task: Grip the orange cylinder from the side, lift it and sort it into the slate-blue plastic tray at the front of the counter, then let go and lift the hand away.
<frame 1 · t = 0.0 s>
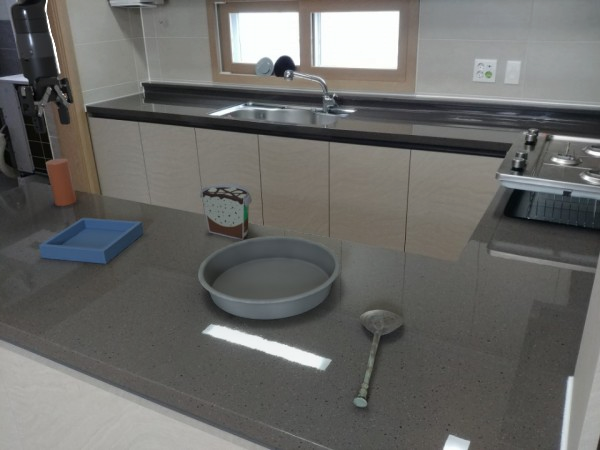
hand: (53, 128, 122), 21 cm above the worktop, tool pointing down, fingers open, 8 cm apart
food container: (234, 232, 118), on the worktop
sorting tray: (94, 245, 114), on the worktop
soupspoon: (373, 356, 76), on the worktop
cake pan: (270, 287, 95), on the worktop
orange cylinder: (65, 202, 139), on the worktop
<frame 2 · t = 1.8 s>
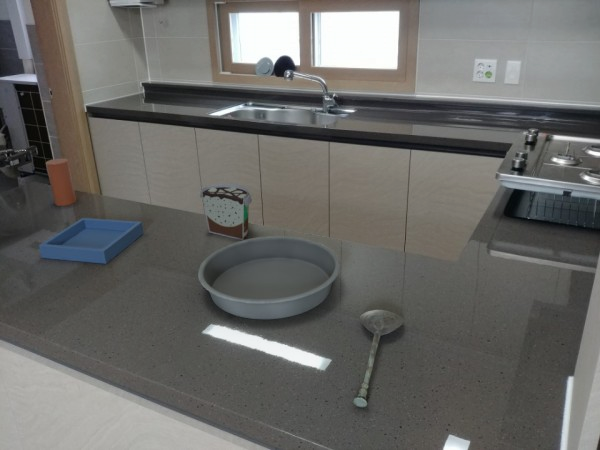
hand: (19, 149, 122), 17 cm above the worktop, tool horizontal, fingers open, 8 cm apart
nothing on the worktop moved.
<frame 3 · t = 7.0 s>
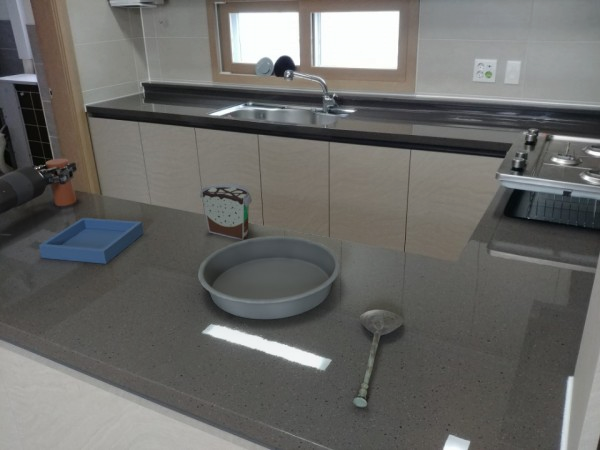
hand: (64, 165, 137), 9 cm above the worktop, tool horizontal, fingers closed on orange cylinder, 5 cm apart
orange cylinder: (65, 202, 139), on the worktop, touching gripper
everything else where it was.
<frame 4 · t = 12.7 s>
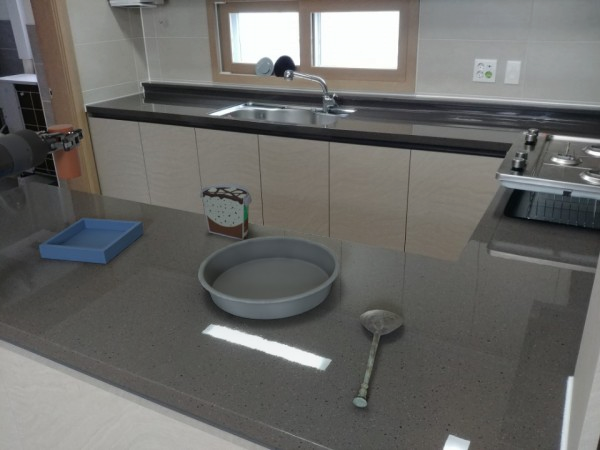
hand: (69, 132, 118), 21 cm above the worktop, tool horizontal, fingers closed on orange cylinder, 5 cm apart
orange cylinder: (70, 175, 120), point 12 cm above the worktop, touching gripper
everything else where it was.
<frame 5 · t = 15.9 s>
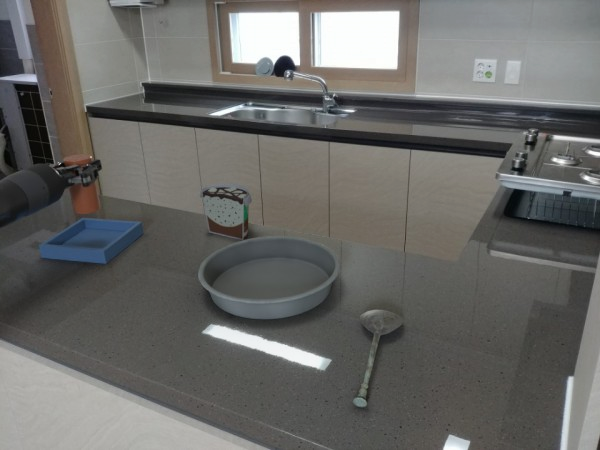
hand: (86, 163, 109), 17 cm above the worktop, tool horizontal, fingers closed on orange cylinder, 5 cm apart
orange cylinder: (87, 209, 110), point 8 cm above the worktop, touching gripper
everything else where it was.
when the fingers open (10 cm above the worktop, at t = 18.5 s): orange cylinder stays where it is, resting on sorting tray.
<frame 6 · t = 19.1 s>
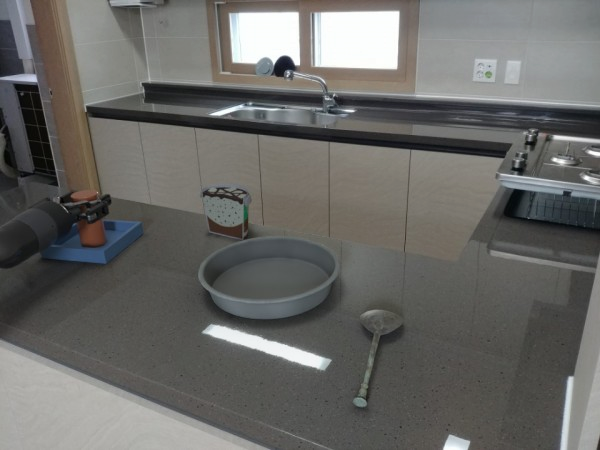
hand: (91, 197, 111), 10 cm above the worktop, tool horizontal, fingers open, 8 cm apart
orange cylinder: (94, 242, 113), point 1 cm above the worktop, touching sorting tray
everything else where it was.
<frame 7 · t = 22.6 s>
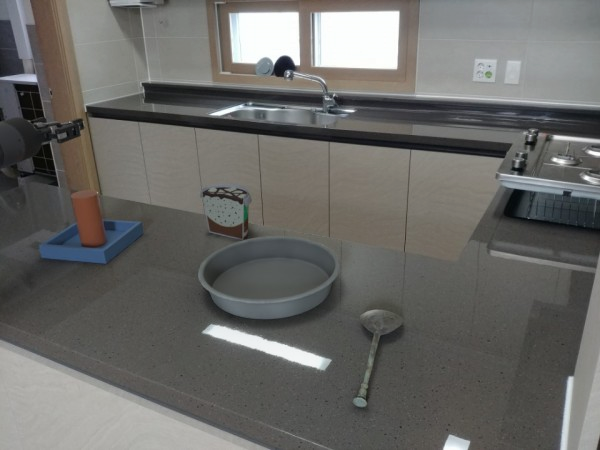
hand: (63, 122, 108), 25 cm above the worktop, tool horizontal, fingers open, 8 cm apart
nothing on the worktop moved.
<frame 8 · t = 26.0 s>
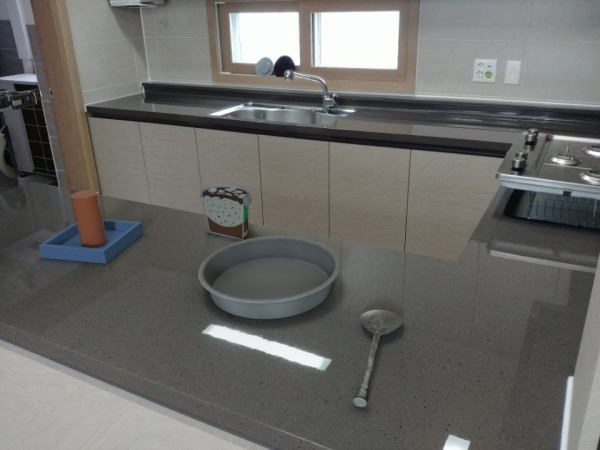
hand: (22, 93, 114), 30 cm above the worktop, tool horizontal, fingers open, 8 cm apart
nothing on the worktop moved.
at the end: orange cylinder inside the target area in the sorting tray (0.1 cm from its centre), point 0.6 cm above the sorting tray's base; orange cylinder tilted 0°; the gripper is holding nothing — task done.
